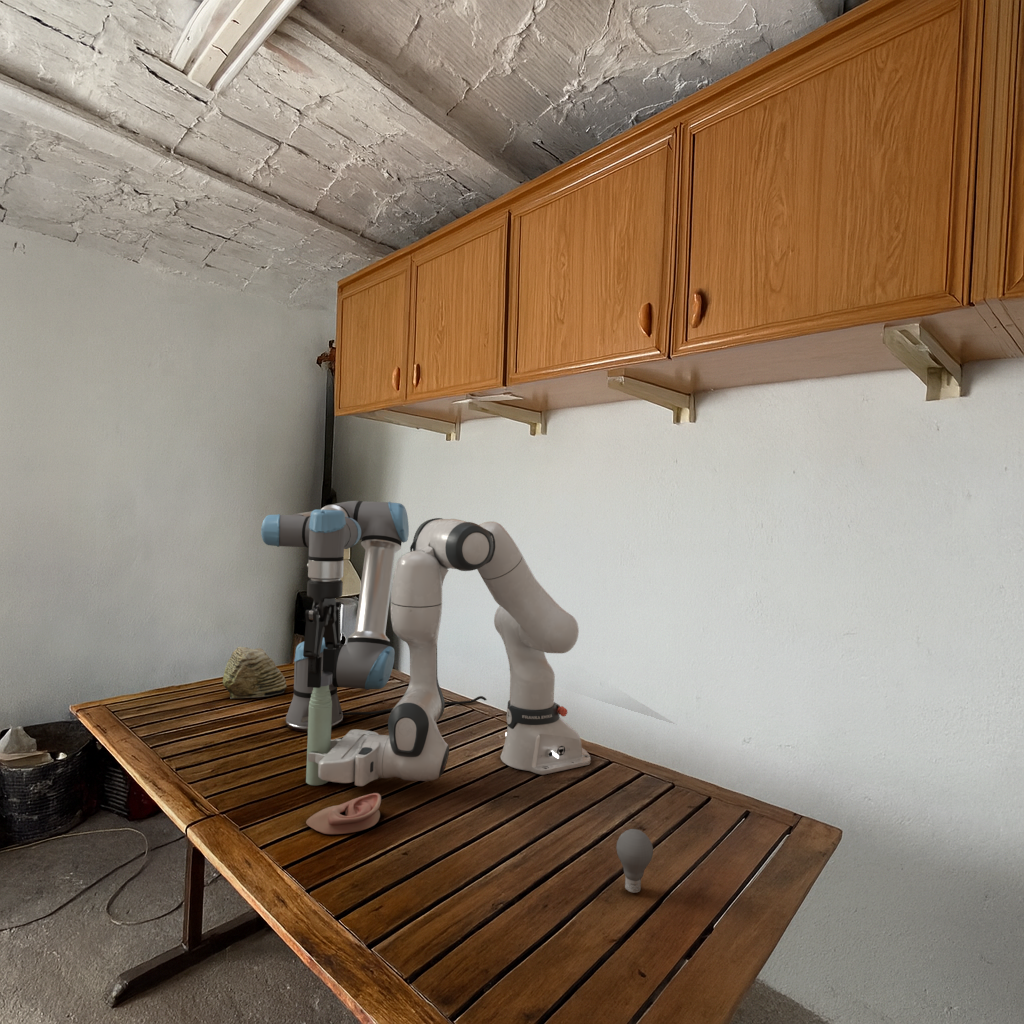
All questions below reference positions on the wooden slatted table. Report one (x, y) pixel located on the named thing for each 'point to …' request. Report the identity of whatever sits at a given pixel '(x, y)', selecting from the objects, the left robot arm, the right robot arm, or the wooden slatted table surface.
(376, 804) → the anatomical model
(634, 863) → the light bulb
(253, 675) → the fossil
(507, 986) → the wooden slatted table surface
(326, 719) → the bottle
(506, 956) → the wooden slatted table surface
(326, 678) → the cap
